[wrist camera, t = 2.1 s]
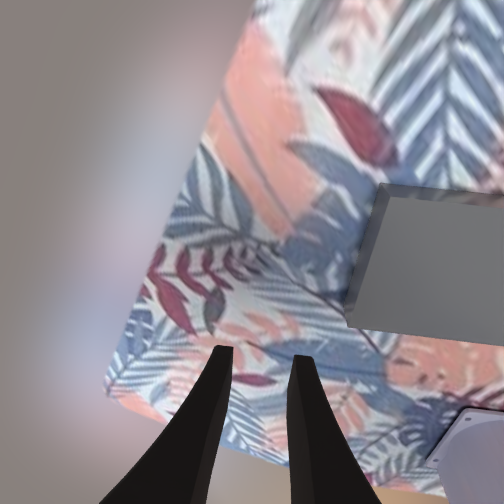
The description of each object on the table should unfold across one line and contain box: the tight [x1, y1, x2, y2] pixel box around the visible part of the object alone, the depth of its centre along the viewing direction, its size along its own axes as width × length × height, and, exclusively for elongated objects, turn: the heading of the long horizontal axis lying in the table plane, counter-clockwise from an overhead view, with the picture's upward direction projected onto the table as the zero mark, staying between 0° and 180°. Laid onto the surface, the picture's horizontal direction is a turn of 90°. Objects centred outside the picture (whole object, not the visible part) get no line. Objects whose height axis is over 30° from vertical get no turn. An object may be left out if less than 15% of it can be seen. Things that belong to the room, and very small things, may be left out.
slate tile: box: [343, 183, 504, 346], centre depth 19 cm, size 9×12×2 cm
